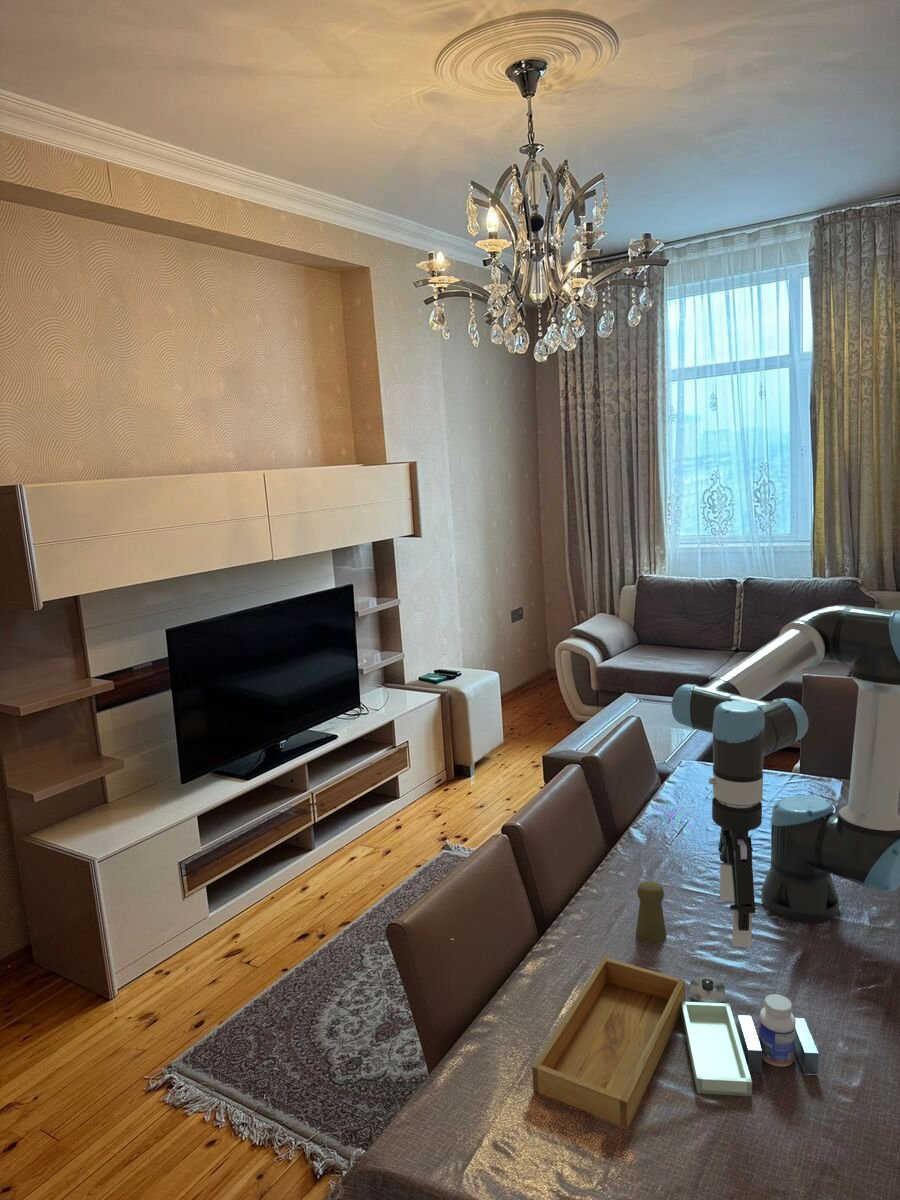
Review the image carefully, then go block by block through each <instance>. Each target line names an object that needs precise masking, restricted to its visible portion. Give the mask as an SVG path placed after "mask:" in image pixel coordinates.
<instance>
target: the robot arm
mask: <svg viewBox="0 0 900 1200" xmlns="http://www.w3.org/2000/svg"><path fill="white" fill-rule="evenodd" d="M821 663H837V664H838V663H839V664H843V665H848V666H851V671H850V672H851V675H850V677H851V678H852V680H853V681H854V682H855V683H856V684H857V686H858V690H857V691H858V693H857V704H856V715H855V724H854V725H855V726H854V735H853V746H852V758H851V768H850V769H851V770H850V777H849V778H850V781H849V791H848V800H847V801H848V802H847V805H845V806H843V807H842V808H840V809H839V811H838V813H835V812H834V811H835V807H834V805H833V804H832V802H831V801H829V800H828V799H826V798H824V797H820V796H815V795H791V796H786V797H785V798H781V799H779V800H778V801H776V802H775V804H773V806H772V810H771V819H770V824H771V825H770V827H771V828H770V829H771V830H770V832H771V833H770V834H771V836H770V867H769V870H768V872H767V874H766V877H765V879H764V882H763V884H762V887H761V895H760V896H761V903H762V904H763V907H765V909H767V911H768V912H771V913H772V914H773V915H775V916H777V917H779V918H782V919H784V920H788V921H791V922H795V923H802V924H820V923H821V924H822V922H823V923H826V922H825V921H827V922H829V921H828V920H830V919H832V918H833V919H835V918H836V917H837V916H838V914H839V912H838V911H840V910H839V909H840V898H839V895H838V892H837V890H836V886H835V884H834V880H833V876H832V875H835V876H838V877H839V878H842V879H845V880H848V881H850V882H851V883H852V882H853V883H854V884H858V885H860V886H863V887H864V888H866V889H871V890H875V891H879V892H880V893H881V892H882V893H891V892H894V891H896V890H897V889H899V887H900V815H899V813H898V808H899V800H900V799H899V798H900V610H899V609H888V608H878V607H877V608H876V607H868V606H867V607H866V606H856V605H849V604H836V605H835V604H834V605H830V606H826V607H822V608H819V609H816V610H813V611H810V612H808V613H805V614H803V615H800V616H799V617H797V618H795V619H793V620H792V621H790V622H789V623H787V624H785V625H784V626H783V627H782V628H781V629H780V631H779V634H778V636H777V637H775V638H774V639H772V640H771V641H769V642H767V643H766V644H765V645H763V646H761V647H760V648H758V649H757V650H756V651H754V652H752V653H751V654H749V655H748V656H747V657H745V658H744V659H742V660H741V661H739V662H737V663H736V664H734V665H733V666H732V667H730V668H729V669H726V671H724V672H722V673H721V674H719V675H717V677H714V678H713V679H712V680H710V681H709V682H707V683H706V684H704V685H702V686H701V685H699V684H694V683H693V684H690V683H686V684H682V685H680V686H679V687H678V688H677V689H676V690H675V692H674V694H673V697H672V699H671V700H672V701H671V705H670V706H671V714H672V717H673V718H674V720H675V721H676V722H677V723H679V724H680V725H683V726H686V727H689V728H691V729H692V730H696V731H697V730H698V731H702V732H705V733H709V734H712V751H713V752H712V759H713V761H712V762H713V765H712V777H710V778H709V779H708V783H709V785H712V796H713V797H712V801H711V803H712V804H711V819H712V821H713V822H714V823H715V824H716V825H717V826H719V827H720V834H719V843H718V848H717V849H718V850H717V851H718V852H719V854H720V855H719V860H720V862H719V863H720V866H719V867H720V869H719V870H720V871H719V872H720V874H719V875H720V876H719V878H720V879H719V899H720V901H726V902H729V901H730V902H734V904H731V905H729V909H730V911H732V939H731V940H732V941H731V942H732V947H735V948H737V947H738V948H752V940H753V939H752V938H753V936H752V934H753V931H752V929H753V914H755V913H756V911H757V909H756V903H755V888H754V873H753V871H754V869H753V851H754V850H753V846H752V839H751V836H749V832H751V831H752V830H756V829H758V828H759V827H760V826H761V824H762V822H763V819H762V818H763V817H762V816H763V804H762V802H761V801H762V800H763V795H764V794H763V791H764V790H763V789H764V774H763V773H764V771H763V770H764V769H763V768H764V757H766V756H767V755H770V754H771V753H775V752H777V751H780V750H782V749H784V748H787V747H791V746H792V745H794V743H796V742H798V741H799V740H801V739H803V738H804V736H805V735H806V734H807V732H808V729H809V716H808V715H807V713H806V711H805V709H804V707H803V706H802V705H801V704H800V703H799V702H798V701H795V700H794V699H791V698H788V697H782V698H775V699H773V700H771V701H770V700H768V701H767V700H762V698H764V697H765V696H766V695H768V694H769V693H771V692H772V691H773V690H775V689H776V688H778V687H779V686H781V685H782V684H783V683H784V682H787V680H788V679H790V678H792V677H793V676H794V675H796V674H798V672H800V671H801V670H803V669H804V668H807V669H808V668H814V667H816V666H817V665H820V664H821ZM836 915H837V916H836ZM835 916H836V917H835ZM834 917H835V918H834ZM833 919H832V920H833ZM830 921H831V920H830Z"/></svg>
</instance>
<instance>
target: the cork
mask: <svg viewBox="0 0 900 1200" xmlns="http://www.w3.org/2000/svg"><path fill="white" fill-rule="evenodd" d="M636 892H637V896H638V899H639V906H638V907H639V908H638V914H637V922H636V930H635V936H636V937H637V939H639V940H640V942H641V941H642V942H644V943H646V944H659V943H662V942H664V941H665V940H667V931H666V930H667V929H666V925H665V918H664V917H665V916H664V911H663V905H662V903H663V902H662V901H663V899H664V896H665V891H664V887H663V886H662V885H661V884H660V883H659V882H656V881H652V880H648V881H647V880H646V881H643V882H640V884H639V885H638V888H637V890H636Z"/></svg>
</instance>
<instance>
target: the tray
mask: <svg viewBox="0 0 900 1200" xmlns="http://www.w3.org/2000/svg"><path fill="white" fill-rule="evenodd" d="M685 989H686V981H685V979H682V978H679V977H674V976H671V975H668V974H664V973H661V972H658V971H654V970H651V969H647V968H644V967H640V966H636V965H633V964H630V963H627V962H623V961H619V960H615V959H612V958H608V957H605V956H603V957H602V958H601V960H600V961H599V963H598V965H597V966H596V968H594V971H593V972H592V974H591V975H590V977H589V979H587V981H586V983H585V984H584V986H583V988H582V989H581V990H580V992H579V994H578V995H577V996H576V999H575V1000H574V1002H572V1005H571V1006H570V1007H569V1009H568V1011H567V1012H566V1014H565V1016H564V1017H563V1018H562V1020H561V1022H560V1023H559V1025H557V1028H556V1029H555V1031H554V1032H553V1034H552V1035H551V1037H550V1038H549V1039H548V1041H547V1043H546V1045H545V1046H544V1047H543V1049H542V1051H541V1052H540V1053H539V1055H538V1056H537V1058H536V1060H535V1062H534V1063H533V1065H532V1066H531V1072H532V1073H531V1074H532V1090H533V1095H535V1094H536V1096H538V1097H540V1098H543V1099H545V1100H548V1101H551V1102H554V1103H555V1102H557V1103H556V1104H558V1103H559V1105H560V1106H563V1105H564V1106H563V1107H566V1106H567V1107H566V1108H568V1107H571V1108H573V1109H576V1110H578V1111H577V1112H579V1111H580V1112H579V1113H581V1112H583V1113H582V1114H584V1115H585V1116H586V1115H587V1116H589V1117H592V1118H594V1119H597V1120H599V1119H601V1120H600V1121H602V1120H603V1121H602V1122H604V1121H606V1122H605V1123H607V1122H608V1123H607V1124H610V1123H611V1124H610V1125H612V1124H613V1125H612V1126H615V1125H616V1126H615V1127H618V1128H620V1129H623V1130H626V1131H627V1130H629V1127H630V1125H631V1123H632V1120H633V1119H634V1117H635V1114H636V1111H637V1110H638V1108H639V1105H640V1103H641V1101H642V1099H643V1096H644V1094H645V1091H646V1090H647V1088H648V1085H649V1084H650V1081H651V1079H652V1077H653V1075H654V1072H655V1070H656V1068H657V1066H658V1063H659V1062H660V1059H661V1057H662V1054H664V1050H665V1049H666V1045H667V1044H668V1041H669V1039H670V1037H671V1034H672V1033H673V1031H674V1028H675V1026H676V1024H677V1022H678V1019H679V1018H680V1014H681V1002H686V990H685ZM571 1108H570V1109H571ZM573 1109H572V1110H573ZM576 1110H575V1111H576Z"/></svg>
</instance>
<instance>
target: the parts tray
mask: <svg viewBox="0 0 900 1200" xmlns="http://www.w3.org/2000/svg"><path fill="white" fill-rule="evenodd" d="M680 1014H681V1019H682V1024H683V1029H684V1034H685V1035H684V1036H685V1039H686V1043H687V1044H686V1045H687V1048H688V1055H689V1059H690V1064H691V1070H692V1073H693V1075H692V1076H693V1078H694V1084H695V1088H696V1093H697V1094H701V1095H702V1094H703V1095H704V1094H706V1095H720V1096H721V1095H722V1096H738V1097H739V1096H740V1097H753V1080H752V1078H751V1074H750V1073H751V1072H749V1070H748V1066H747V1063H746V1059H745V1056H744V1053H743V1049H742V1046H741V1042H740V1039H739V1035H738V1028H737V1026H736V1022H735V1018H734V1016H733V1015H734V1014H733V1012H732V1009H731V1005H730V1003H702V1002H693V1001H685V1002H681V1013H680Z"/></svg>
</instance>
